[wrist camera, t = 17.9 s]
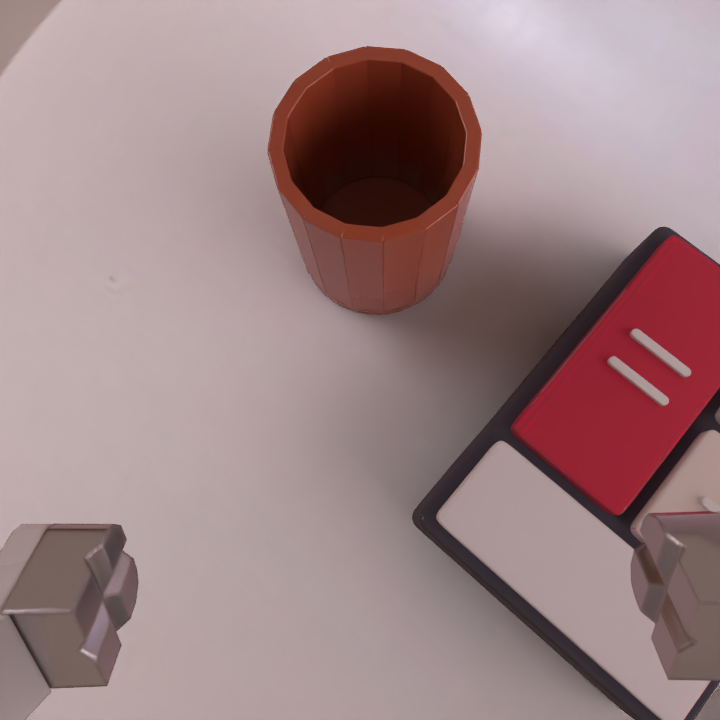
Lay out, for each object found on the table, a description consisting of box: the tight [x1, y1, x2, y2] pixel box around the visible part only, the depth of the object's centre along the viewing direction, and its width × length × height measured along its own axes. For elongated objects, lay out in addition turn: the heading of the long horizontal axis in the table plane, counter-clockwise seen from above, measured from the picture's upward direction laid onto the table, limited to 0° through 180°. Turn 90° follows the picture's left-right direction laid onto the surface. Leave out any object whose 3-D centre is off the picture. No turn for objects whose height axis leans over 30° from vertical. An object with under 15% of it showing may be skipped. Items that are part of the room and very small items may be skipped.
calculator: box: [412, 227, 720, 720], centre depth 24 cm, size 11×4×15 cm
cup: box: [268, 46, 482, 314], centre depth 24 cm, size 7×7×8 cm
